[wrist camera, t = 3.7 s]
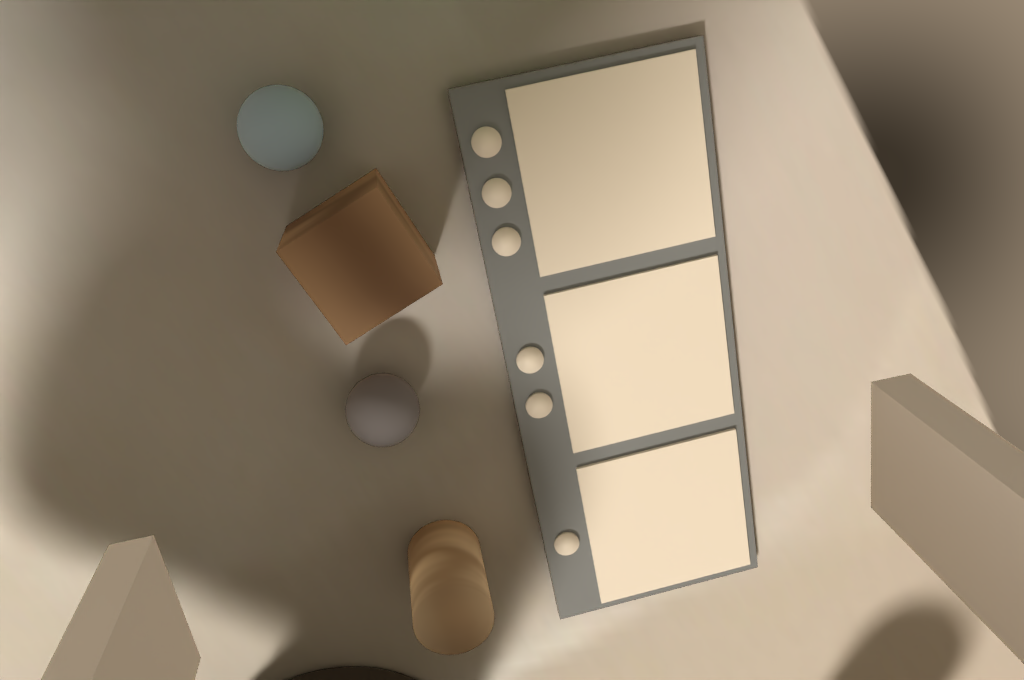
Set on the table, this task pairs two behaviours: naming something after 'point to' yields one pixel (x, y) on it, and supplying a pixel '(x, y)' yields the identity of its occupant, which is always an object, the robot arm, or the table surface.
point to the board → (614, 316)
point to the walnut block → (359, 257)
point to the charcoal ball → (382, 410)
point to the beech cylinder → (449, 588)
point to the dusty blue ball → (280, 127)
